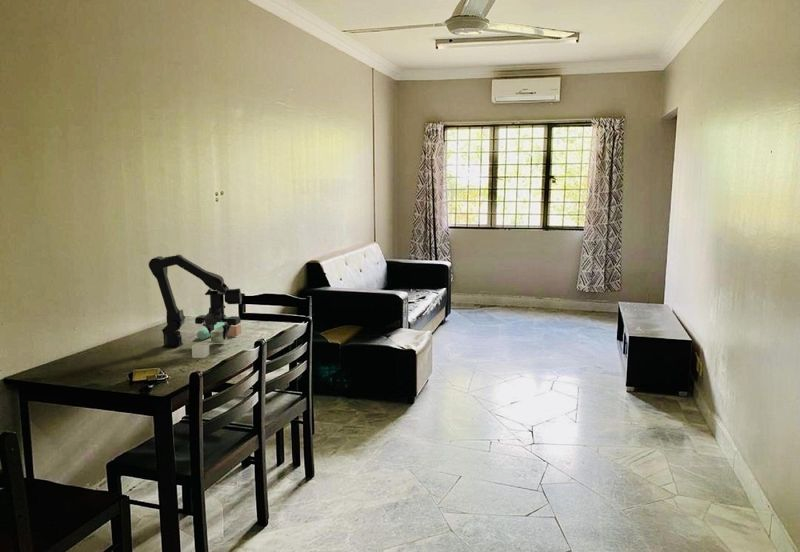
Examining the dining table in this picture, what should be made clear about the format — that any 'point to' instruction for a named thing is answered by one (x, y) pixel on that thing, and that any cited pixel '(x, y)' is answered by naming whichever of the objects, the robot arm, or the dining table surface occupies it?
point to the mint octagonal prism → (205, 333)
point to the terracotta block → (234, 330)
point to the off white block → (200, 350)
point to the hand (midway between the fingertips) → (218, 339)
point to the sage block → (217, 336)
